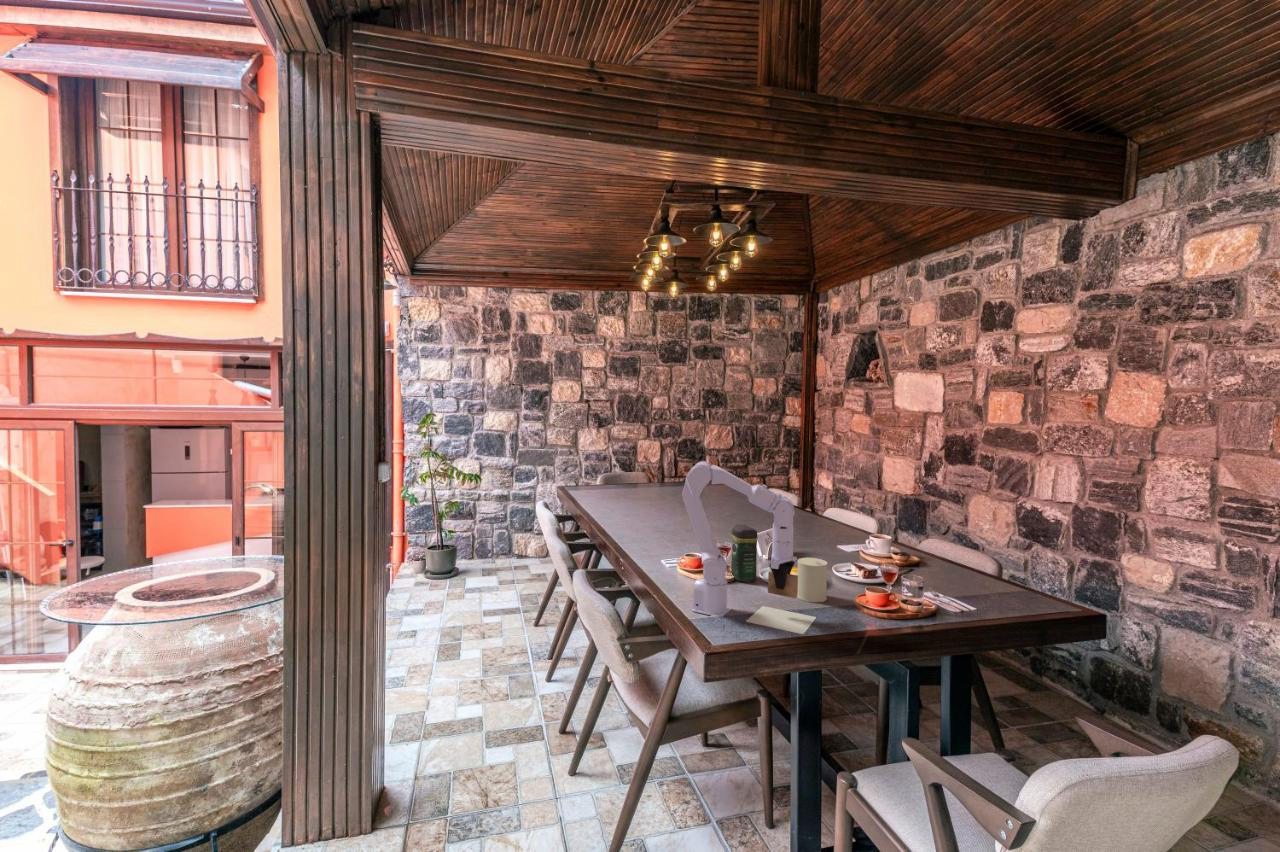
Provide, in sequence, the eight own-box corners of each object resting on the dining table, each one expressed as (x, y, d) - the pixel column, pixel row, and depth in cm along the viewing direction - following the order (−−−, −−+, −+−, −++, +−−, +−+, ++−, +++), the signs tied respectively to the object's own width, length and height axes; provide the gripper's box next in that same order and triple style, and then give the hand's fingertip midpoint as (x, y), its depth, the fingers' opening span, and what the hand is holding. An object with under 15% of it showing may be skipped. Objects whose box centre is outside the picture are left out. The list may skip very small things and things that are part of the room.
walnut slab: (767, 592, 164) (768, 572, 164) (770, 590, 166) (770, 570, 166) (795, 598, 160) (796, 577, 160) (797, 596, 162) (798, 575, 162)
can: (812, 604, 175) (813, 565, 174) (790, 595, 183) (791, 558, 182) (833, 599, 179) (834, 561, 179) (810, 590, 187) (811, 554, 187)
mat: (745, 623, 159) (745, 621, 159) (762, 607, 171) (762, 605, 171) (803, 636, 151) (803, 634, 151) (816, 619, 163) (816, 617, 163)
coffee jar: (759, 582, 195) (761, 528, 194) (737, 583, 194) (738, 529, 193) (749, 573, 204) (750, 522, 204) (728, 574, 203) (729, 523, 202)
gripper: (789, 548, 154) (787, 597, 155) (803, 537, 167) (802, 583, 167) (763, 544, 158) (762, 592, 159) (780, 534, 170) (778, 578, 171)
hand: (781, 587), depth 163 cm, fingers closed on walnut slab, 2 cm apart
